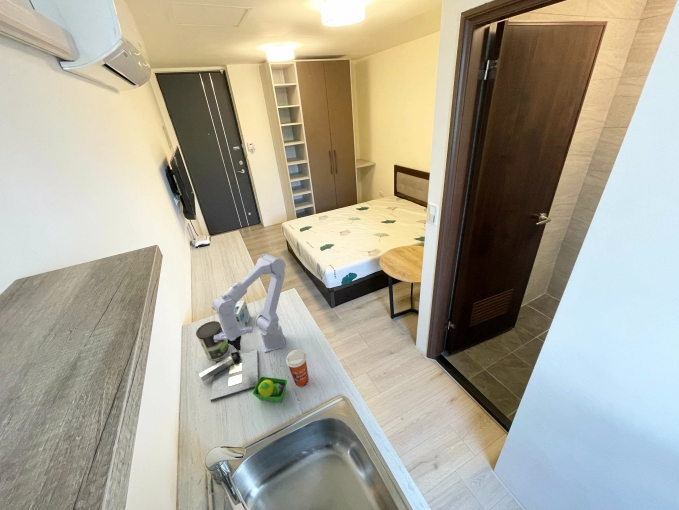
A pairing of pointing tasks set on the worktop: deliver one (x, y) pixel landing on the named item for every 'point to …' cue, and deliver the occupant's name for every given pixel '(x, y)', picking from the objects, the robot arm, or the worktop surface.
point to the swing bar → (218, 367)
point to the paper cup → (298, 367)
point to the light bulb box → (241, 313)
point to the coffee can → (212, 340)
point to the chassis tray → (236, 376)
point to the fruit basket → (270, 389)
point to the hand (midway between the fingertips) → (238, 348)
